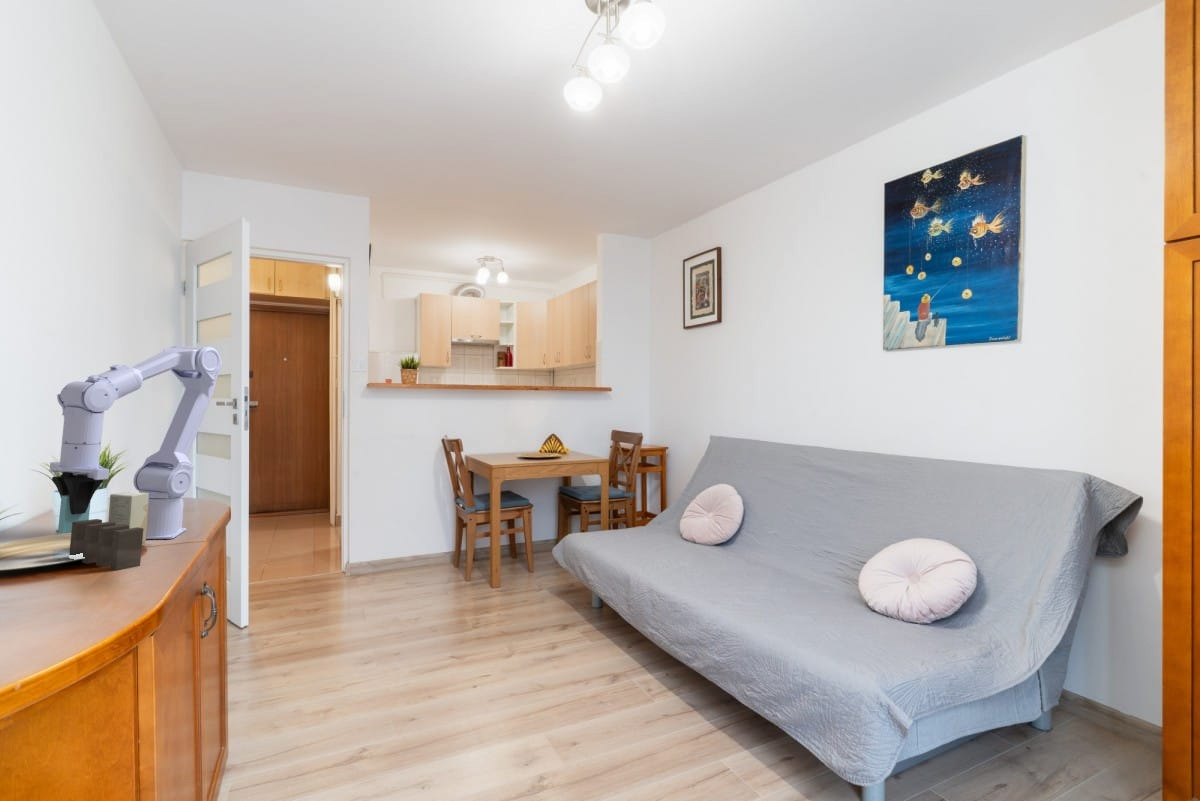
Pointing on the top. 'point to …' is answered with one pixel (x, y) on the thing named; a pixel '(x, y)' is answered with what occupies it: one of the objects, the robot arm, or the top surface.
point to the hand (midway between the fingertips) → (74, 512)
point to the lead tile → (69, 515)
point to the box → (129, 510)
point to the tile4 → (106, 544)
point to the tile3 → (92, 541)
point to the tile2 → (79, 535)
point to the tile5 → (126, 548)
